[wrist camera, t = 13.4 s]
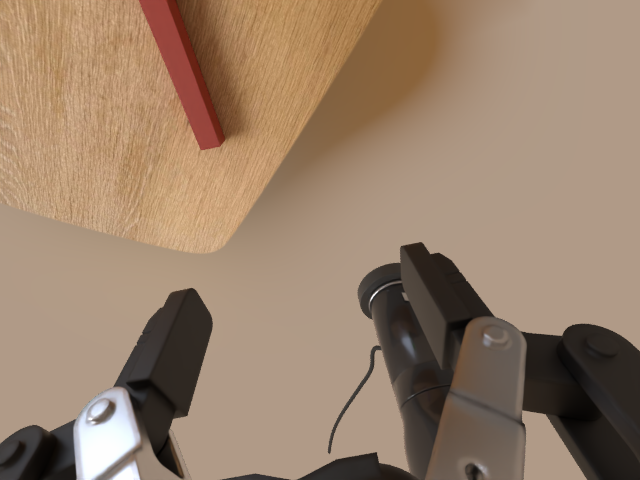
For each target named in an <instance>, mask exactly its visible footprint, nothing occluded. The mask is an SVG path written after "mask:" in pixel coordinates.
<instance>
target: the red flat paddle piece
mask: <svg viewBox="0 0 640 480" xmlns="http://www.w3.org/2000/svg"><path fill="white" fill-rule="evenodd" d="M139 2H140V4H141V7H142V9H143V12H144V14H145V16H146V19H147V21H148V24H149V26H150V28H151V31H152V33H153V36H154V38H155V41H156V43H157V45H158V48H159V50H160V53H161V55H162V57H163V60H164V62H165V65H166V67H167V69H168V72H169V74H170V77H171V79H172V82H173V84H174V86H175V89H176V91H177V94H178V96H179V98H180V101H181V103H182V106H183V108H184V110H185V113H186V115H187V118H188V120H189V123H190V125H191V127H192V130H193V132H194V135H195V137H196V139H197V142H198V144H199V147H200V149H201V150H205V149H210V148H215V147H220V146H221V145H222V144H223V142H224V141H225V137H224V135H223V132H222V129H221V126H220V123H219V121H218V118H217V115H216V112H215V109H214V107H213V104H212V101H211V98H210V95H209V93H208V90H207V87H206V84H205V81H204V79H203V76H202V73H201V70H200V67H199V65H198V62H197V59H196V56H195V53H194V51H193V48H192V45H191V42H190V39H189V37H188V34H187V31H186V28H185V25H184V23H183V20H182V17H181V14H180V11H179V9H178V6H177V3H176V0H139Z"/></svg>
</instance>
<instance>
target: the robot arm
mask: <svg viewBox="0 0 640 480" xmlns="http://www.w3.org/2000/svg"><path fill="white" fill-rule="evenodd" d="M400 257H401V258H400V259H401V279H395V280H391V281H388V282H385V283H383V284H381V285H380V286H378V287H377V288H376V289H375V290H374V291H373V292H372V293H371V295H370V297H369V299H368V307H369V310H370V313H371V315H372V319H373V322H374V326H375V329H376V333H377V337H378V341H379V344H380V346H374V347H373V348H372V350H371V355H370V359H371V362H370V363H371V364H370V368H369V371H368V373H367V375H366V376H365V378H364V379H363V380H362V382H361V383H360V385H359V386H358V388H357V389H356V391H355V392H354V393H353V395H352V396H351V398H350V399H349V401H348V402H347V404H346V405H345V407H344V409H343V410H342V412H341V413H340V415H339V417H338V419H337V421H336V423H335V425H334V427H333V430H332V433H331V436H330V441H329V447H328V453H329V454H330V452H331V445H332V440H333V436H334V433H335V430H336V428H337V425H338V423H339V421H340V420H341V418H342V416H343V414H344V413H345V411H346V410H347V408H348V407H349V405H350V404H351V402H352V401H353V399H354V398H355V397H356V395H357V394H358V392H359V391H360V389H361V388H362V387H363V385H364V384H365V382H366V381H367V380H368V378H369V376H370V375H371V373H372V371H373V368H374V354H375V351H376V350H382V353H383V357H384V360H385V363H386V367H387V370H388V373H389V377H390V380H391V384H392V387H393V390H394V394H395V397H396V401H397V404H398V407H399V410H400V414H401V418H402V422H403V427H404V447H405V454H406V458H407V462H408V467H409V471H410V473H409V472H406V471H404V470H402V469H400V468H397V467H394V466H391V465H387V464H381V463H379V461H378V456H377V452H376V453H370V454H364V455H359V456H354V457H347V458H342V459H337V460H335V461H333V462H331V463H329V464H327V465H325V466H323V467H321V468H319V469H317V470H315V471H314V472H312V473H310V474H308V475H306V476H304V477H302V478H300V479H298V480H523V479H524V462H525V445H526V429H525V424H524V423H522V410H524V411H530V412H536V413H543V414H546V416H547V417H548V419H549V420H550V422H551V423H552V425H553V427H554V428H555V430H556V431H557V433H558V434H559V436H560V438H561V439H562V441H563V442H564V444H565V445H566V447H567V448H568V450H569V452H570V453H571V455H572V456H573V458H574V459H575V461H576V463H577V464H578V466H579V467H580V469H581V470H582V472H583V474H584V475H585V477H586V478H587V480H640V351H639V350H638V349H637V348H635V347H634V346H633V345H632V344H631V343H630V342H629V341H628V340H626V339H625V338H623V337H622V336H620V335H619V334H617V333H615V332H613V331H611V330H609V329H606V328H603V327H600V326H596V325H591V324H576V325H572V326H570V327H568V328H567V329H566V330H565V331H564V333H563V335H562V336H555V335H544V334H532V333H526V332H521V331H519V330H518V329H517V328H516V327H515V326H514V325H512V324H510V323H509V322H507V321H505V320H502V319H499V318H496V317H495V316H494V315H493V314H492V313H491V311H490V310H489V309H488V307H487V306H486V305H485V304H484V302H483V301H482V300H481V299H480V297H479V296H478V294H477V293H476V292H475V291H474V289H473V288H472V287H471V285H470V284H469V283H468V281H466V279H465V277H464V276H463V275H462V273H460V272H459V270H458V268H457V267H456V266H455V264H454V263H453V262H452V261H451V260H450V259H448V258H447V257H445V256H444V255H442V254H440V253H435V254H430V253H429V252H428V250H427V249H426V247H425V246H424V244H423V243H422V242H419V243H414V244H409V245H405V246H401V248H400ZM212 324H213V323H212V317H211V314H210V312H209V311H208V309H207V308H206V306H205V304H204V303H203V301H202V299H201V298H200V296H199V295H198V293H197V291H196V290H195V289H193V288H189V289H185V290H180V291H175V292H172V293H171V294H170V295H169V297H168V299H167V300H166V302H165V305H164V307H163V308H160V309H159V310H158V311H157V312H156V313H155V314H154V315H153V316H152V317H151V318H150V320H149V321H148V323H147V325H146V327H145V328H144V330H143V332H142V333H143V335H141V336H140V338H139V340H138V342H137V345H136V346H135V347H134V349H133V351H132V353H131V355H130V357H129V359H128V360H127V362H126V364H125V366H124V368H123V370H122V372H121V373H120V376H119V377H118V379H117V381H116V383H115V385H114V387H113V388H110V389H107V390H105V391H103V392H101V393H100V394H98V395H97V396H96V397H94V398H93V399H92V400H91V401H90V402H89V403H88V404H87V405H86V406H85V407H84V408H83V410H82V411H81V412H80V414H79V415H78V417H77V419H75V420H73V421H71V422H69V423H67V424H65V425H63V426H61V427H59V428H56V429H54V430H52V431H50V432H48V431H47V430H45V429H43V428H42V427H40V426H37V425H32V426H28V427H25V428H23V429H20V430H19V431H17V432H15V433H14V434H12V435H11V436H9V437H8V438H7V439H5V440H4V441H3V442H2V443H1V444H0V480H192V479H191V477H190V474H189V472H188V469H187V467H186V464H185V461H184V459H183V456H182V454H181V451H180V448H179V446H178V443H177V441H176V438H175V436H174V433H173V431H172V430H171V429H170V426H171V423H172V420H173V419H174V418H180V417H185V416H187V415H188V411H189V408H190V405H191V401H192V397H193V394H194V391H195V387H196V384H197V380H198V377H199V373H200V370H201V366H202V363H203V359H204V356H205V353H206V349H207V346H208V342H209V339H210V335H211V332H212ZM222 480H289V479H283V478H277V477H271V476H266V475H260V474H251V475H245V476H240V477H234V478H228V479H222Z"/></svg>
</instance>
